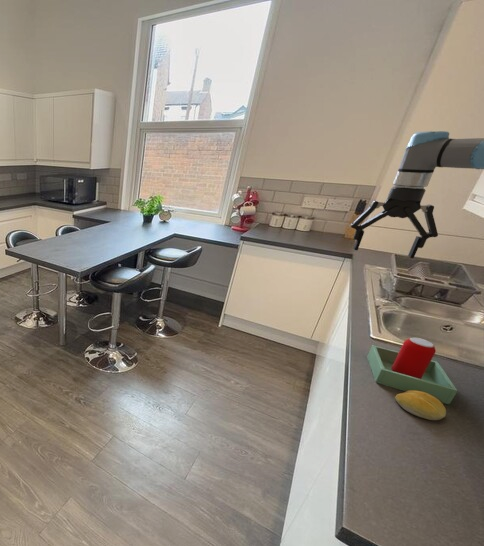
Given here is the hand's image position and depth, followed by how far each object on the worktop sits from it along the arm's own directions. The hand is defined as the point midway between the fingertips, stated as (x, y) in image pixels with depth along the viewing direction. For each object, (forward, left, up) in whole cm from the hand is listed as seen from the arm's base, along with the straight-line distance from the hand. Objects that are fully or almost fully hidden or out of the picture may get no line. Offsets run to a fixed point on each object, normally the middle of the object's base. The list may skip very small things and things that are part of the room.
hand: (382, 253), depth 102 cm
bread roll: (-10, +37, -31) cm, 49 cm away
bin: (-10, +23, -31) cm, 40 cm away
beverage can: (-10, +23, -30) cm, 39 cm away
